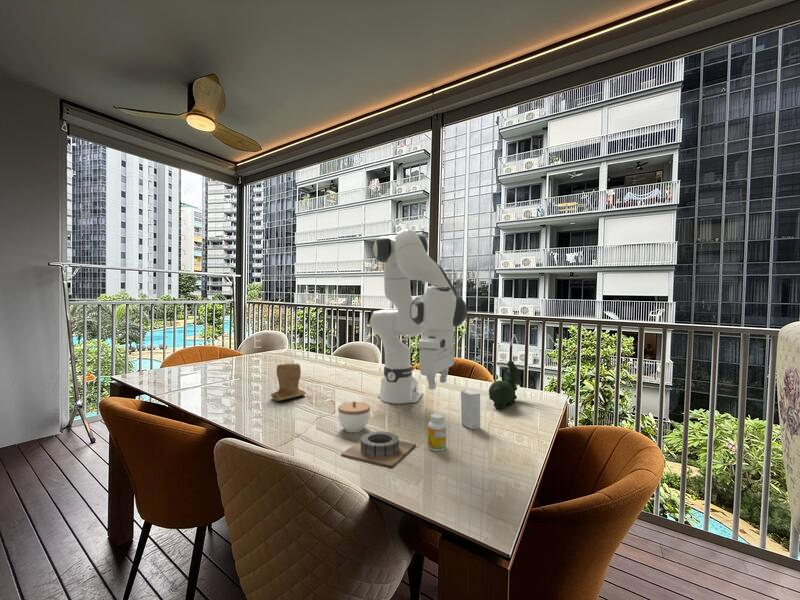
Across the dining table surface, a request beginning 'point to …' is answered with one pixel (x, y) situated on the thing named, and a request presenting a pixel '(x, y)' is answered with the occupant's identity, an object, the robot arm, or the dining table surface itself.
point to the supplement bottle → (437, 433)
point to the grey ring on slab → (379, 449)
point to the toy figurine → (505, 388)
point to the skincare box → (470, 409)
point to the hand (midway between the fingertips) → (437, 385)
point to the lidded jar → (354, 416)
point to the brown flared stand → (288, 382)
